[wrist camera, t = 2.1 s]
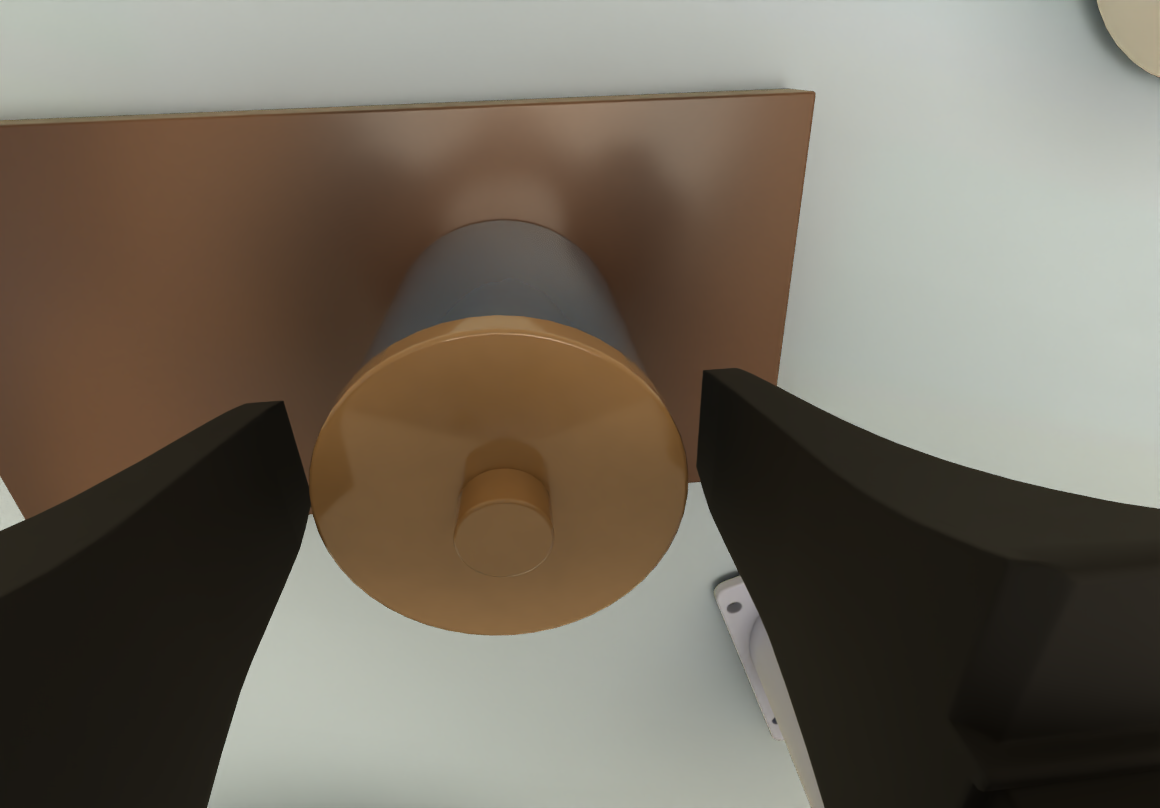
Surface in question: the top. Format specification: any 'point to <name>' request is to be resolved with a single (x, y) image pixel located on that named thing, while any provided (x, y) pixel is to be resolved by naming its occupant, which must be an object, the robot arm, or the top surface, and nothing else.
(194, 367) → the cutting board
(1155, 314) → the top surface
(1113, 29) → the mug
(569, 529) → the sugar pot
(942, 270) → the top surface
